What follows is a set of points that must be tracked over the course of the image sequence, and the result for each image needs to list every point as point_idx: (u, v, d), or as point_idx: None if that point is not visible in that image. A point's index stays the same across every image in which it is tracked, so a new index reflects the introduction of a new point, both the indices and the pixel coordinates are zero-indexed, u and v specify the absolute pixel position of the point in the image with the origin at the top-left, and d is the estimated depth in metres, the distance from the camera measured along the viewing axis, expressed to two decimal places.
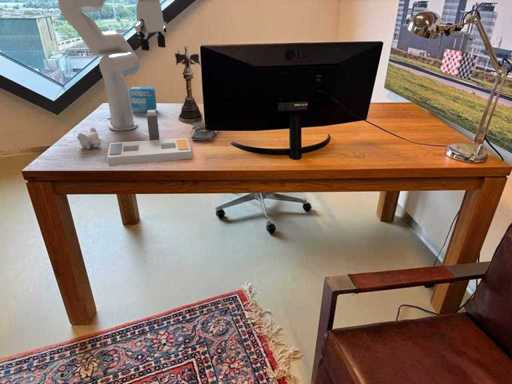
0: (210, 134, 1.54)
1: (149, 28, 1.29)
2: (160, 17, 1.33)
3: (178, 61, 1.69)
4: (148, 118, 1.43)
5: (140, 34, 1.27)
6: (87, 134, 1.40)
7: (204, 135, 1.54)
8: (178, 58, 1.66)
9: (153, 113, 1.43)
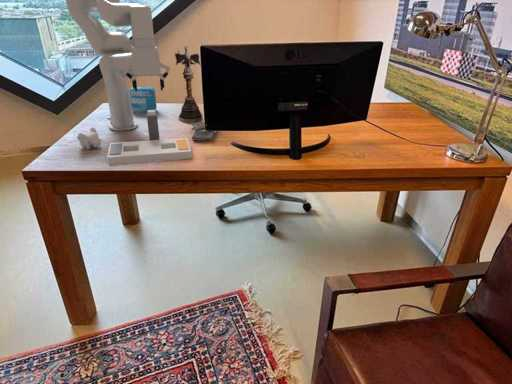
0: (210, 134, 1.54)
1: None
2: None
3: (178, 61, 1.69)
4: (148, 118, 1.43)
5: None
6: (87, 134, 1.40)
7: (204, 135, 1.54)
8: (178, 58, 1.66)
9: (153, 113, 1.43)
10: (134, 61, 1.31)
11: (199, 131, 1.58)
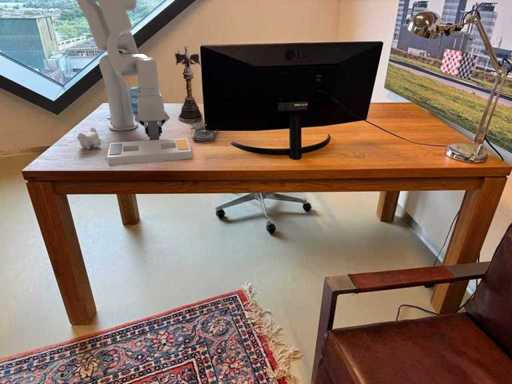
0: (211, 134, 1.54)
1: None
2: None
3: (178, 61, 1.69)
4: None
5: None
6: (87, 134, 1.40)
7: (205, 135, 1.54)
8: (178, 58, 1.66)
9: None
10: (140, 108, 1.40)
11: (199, 131, 1.58)
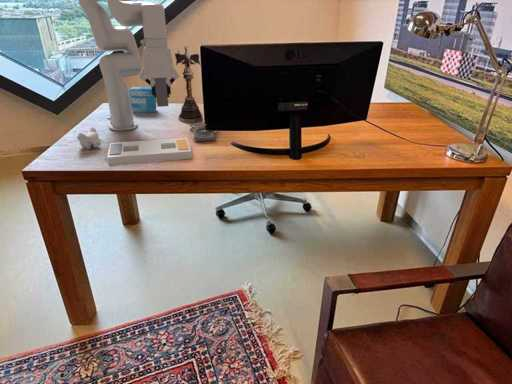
0: (212, 134, 1.54)
1: None
2: None
3: (178, 61, 1.69)
4: None
5: None
6: (87, 134, 1.40)
7: (206, 135, 1.54)
8: (178, 58, 1.66)
9: None
10: (146, 63, 1.23)
11: (199, 131, 1.57)
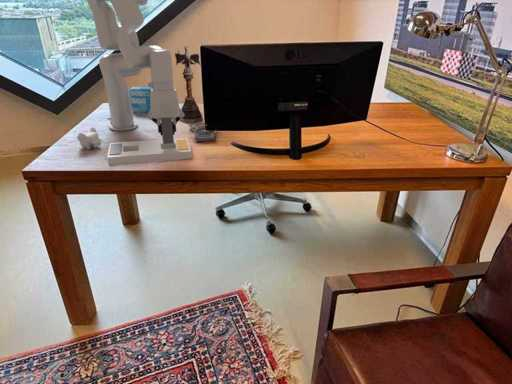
0: (212, 134, 1.54)
1: None
2: None
3: (178, 61, 1.69)
4: None
5: None
6: (87, 134, 1.40)
7: (207, 135, 1.54)
8: (178, 58, 1.66)
9: None
10: (153, 104, 1.28)
11: (199, 132, 1.57)
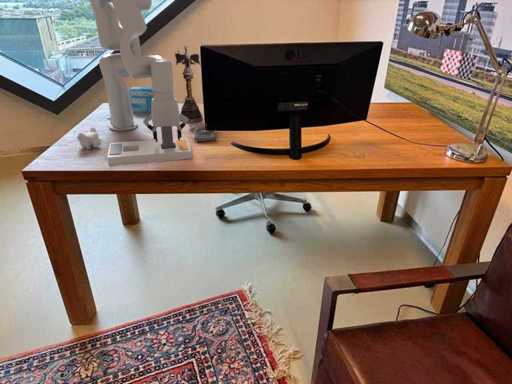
0: (213, 134, 1.54)
1: None
2: None
3: (178, 61, 1.69)
4: (162, 127, 1.34)
5: None
6: (87, 134, 1.40)
7: (207, 135, 1.54)
8: (178, 58, 1.66)
9: None
10: (154, 113, 1.30)
11: (200, 132, 1.57)
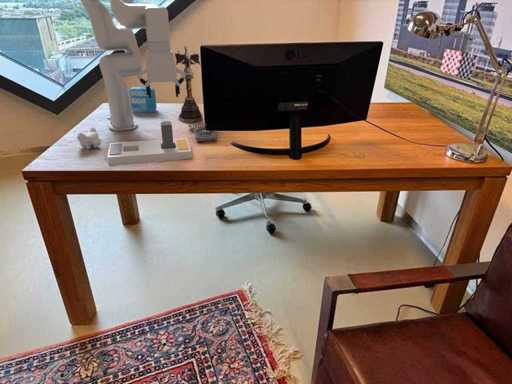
0: (213, 134, 1.55)
1: None
2: None
3: (178, 61, 1.69)
4: (162, 127, 1.34)
5: None
6: (87, 134, 1.40)
7: (208, 135, 1.54)
8: (178, 58, 1.66)
9: (168, 122, 1.34)
10: (149, 66, 1.22)
11: (200, 132, 1.57)
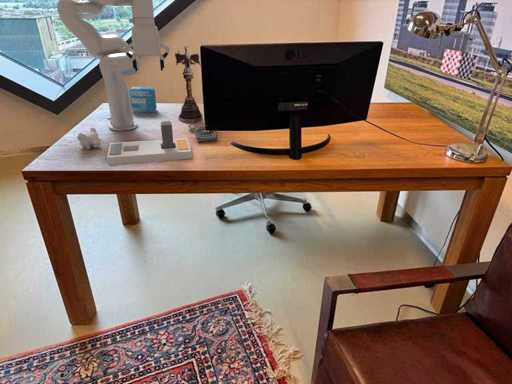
0: (214, 134, 1.55)
1: None
2: None
3: (178, 61, 1.69)
4: (162, 127, 1.34)
5: None
6: (87, 134, 1.40)
7: (208, 135, 1.54)
8: (178, 58, 1.66)
9: (168, 122, 1.34)
10: (134, 40, 1.32)
11: (200, 132, 1.57)
